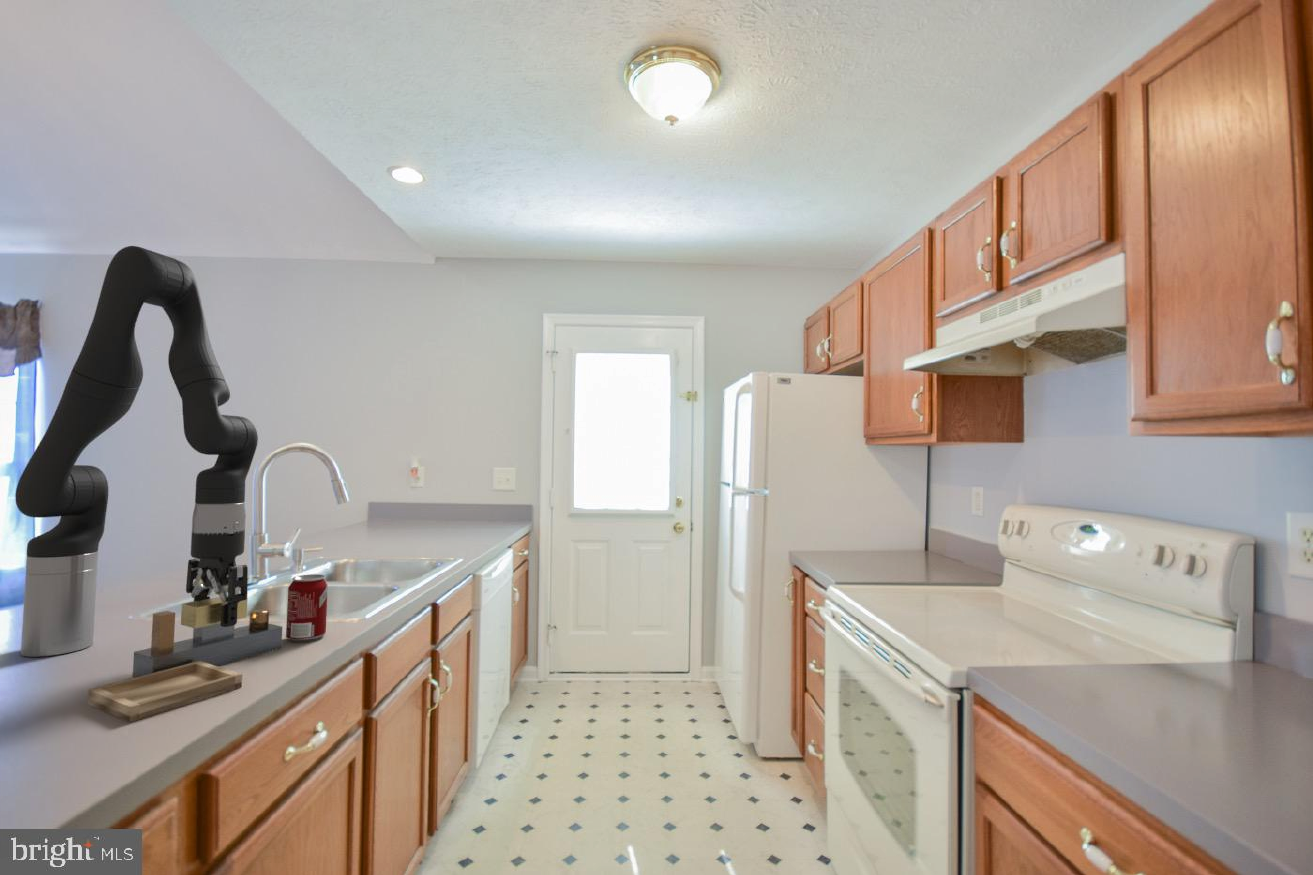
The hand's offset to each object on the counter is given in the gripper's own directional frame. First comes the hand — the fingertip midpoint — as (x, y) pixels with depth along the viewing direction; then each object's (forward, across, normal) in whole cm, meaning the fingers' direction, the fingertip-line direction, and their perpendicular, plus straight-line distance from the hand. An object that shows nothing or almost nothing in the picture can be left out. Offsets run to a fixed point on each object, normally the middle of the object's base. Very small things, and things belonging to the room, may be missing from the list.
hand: (214, 622), depth 103 cm
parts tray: (+7, +10, -11) cm, 16 cm away
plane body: (+7, 0, 0) cm, 7 cm away
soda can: (+7, +1, +16) cm, 17 cm away
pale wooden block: (0, 0, 0) cm, 0 cm away
